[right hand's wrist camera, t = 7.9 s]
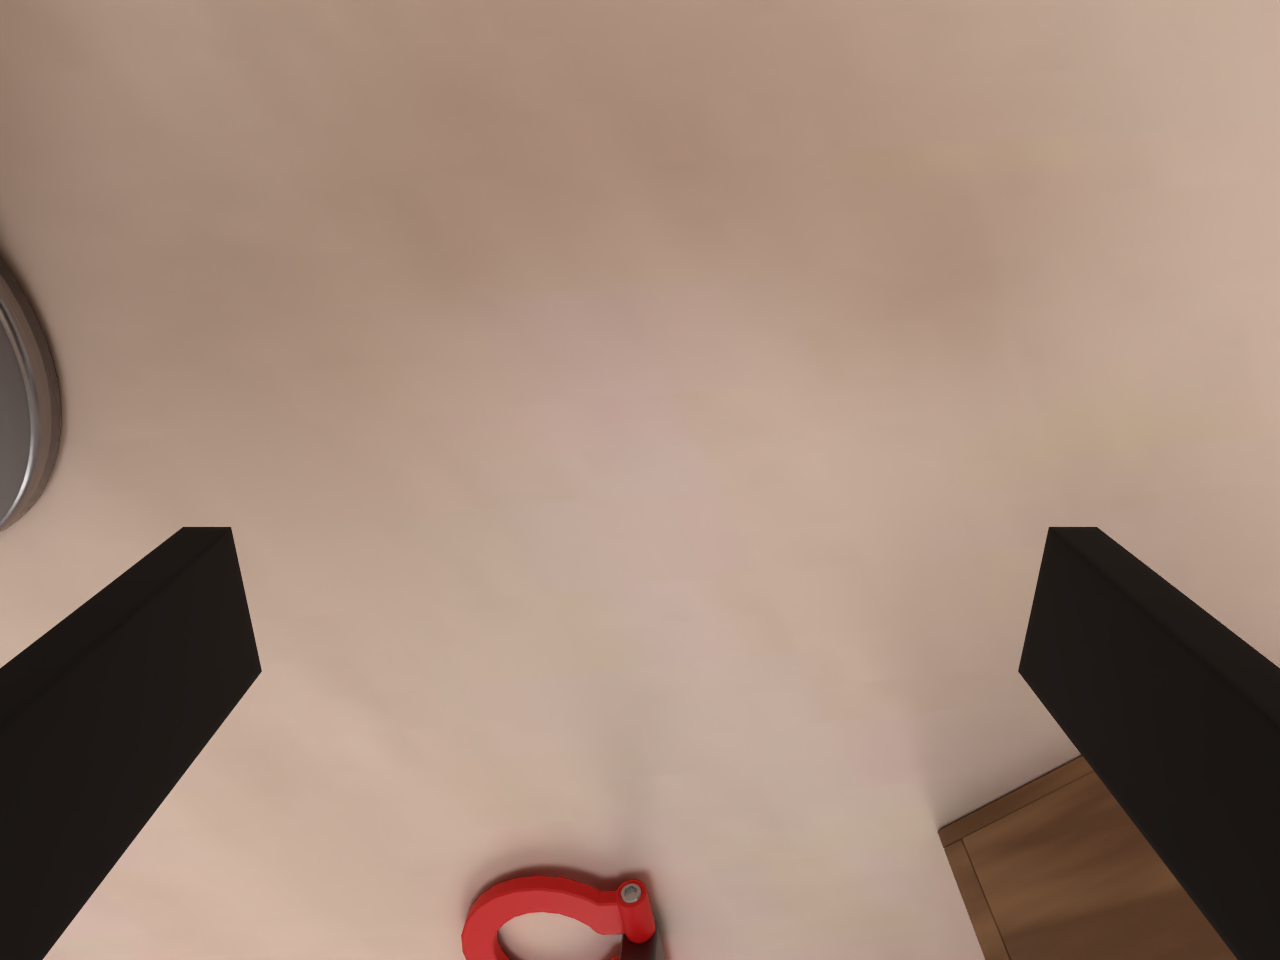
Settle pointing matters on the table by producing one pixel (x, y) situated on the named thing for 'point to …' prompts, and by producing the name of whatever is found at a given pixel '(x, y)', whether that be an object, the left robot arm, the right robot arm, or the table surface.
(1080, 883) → the chest
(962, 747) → the table surface
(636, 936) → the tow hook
